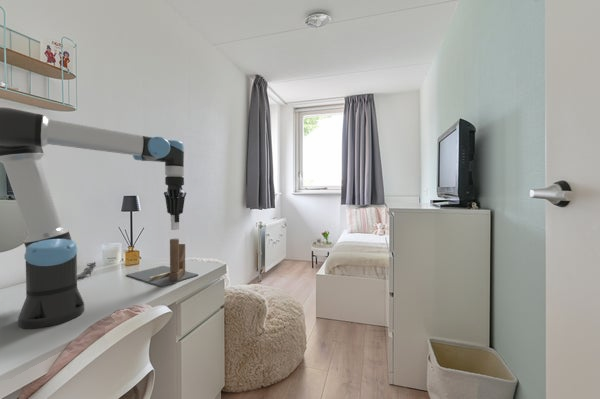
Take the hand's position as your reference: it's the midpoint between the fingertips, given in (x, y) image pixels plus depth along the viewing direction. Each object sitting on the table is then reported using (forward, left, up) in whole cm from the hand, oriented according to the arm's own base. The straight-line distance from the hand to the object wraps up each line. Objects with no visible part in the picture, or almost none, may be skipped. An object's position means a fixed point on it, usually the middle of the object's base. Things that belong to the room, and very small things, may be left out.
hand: (175, 229), depth 119 cm
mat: (0, +10, -22) cm, 25 cm away
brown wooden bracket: (+1, 0, -22) cm, 22 cm away
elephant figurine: (-18, +38, -23) cm, 48 cm away
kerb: (0, +6, -22) cm, 23 cm away
